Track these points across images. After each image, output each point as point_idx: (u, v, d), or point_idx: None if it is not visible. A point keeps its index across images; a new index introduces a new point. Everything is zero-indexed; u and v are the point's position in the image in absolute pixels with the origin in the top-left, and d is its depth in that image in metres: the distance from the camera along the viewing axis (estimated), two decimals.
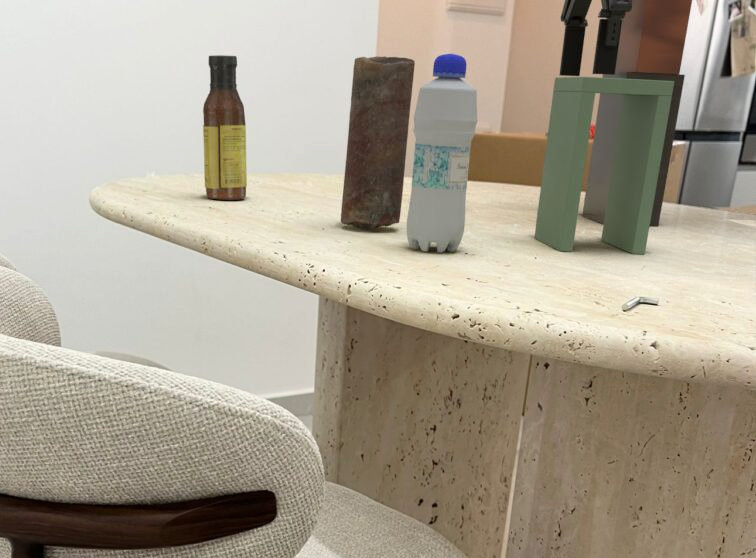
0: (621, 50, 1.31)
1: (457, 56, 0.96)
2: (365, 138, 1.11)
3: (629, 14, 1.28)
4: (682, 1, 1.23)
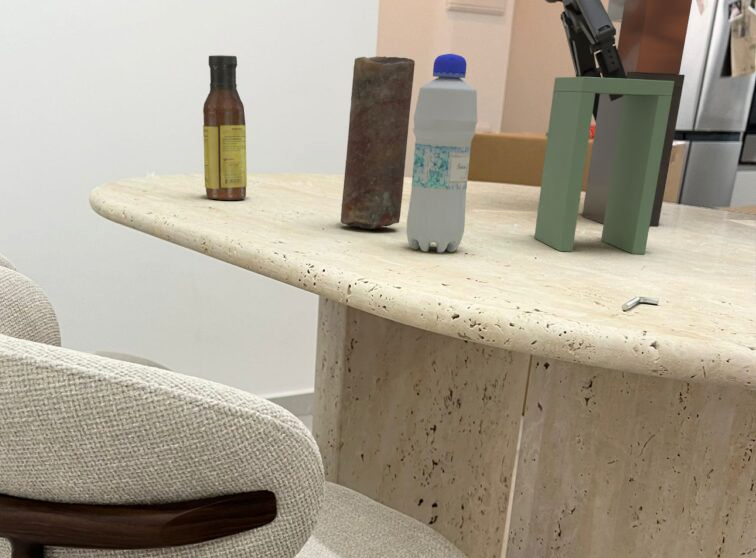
0: (621, 50, 1.31)
1: (457, 56, 0.96)
2: (365, 138, 1.11)
3: (629, 14, 1.28)
4: (682, 1, 1.23)
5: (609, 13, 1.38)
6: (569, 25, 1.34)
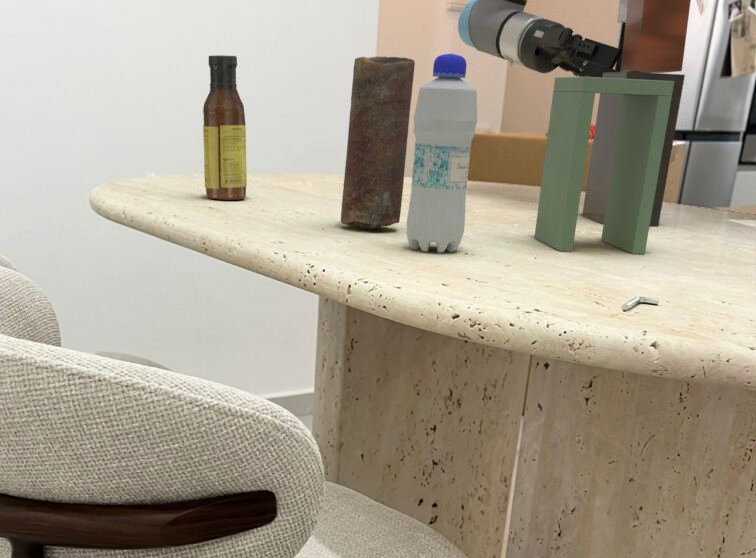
0: (625, 50, 1.31)
1: (457, 56, 0.96)
2: (365, 138, 1.11)
3: (631, 14, 1.29)
4: None
5: (619, 14, 1.39)
6: (571, 69, 1.48)
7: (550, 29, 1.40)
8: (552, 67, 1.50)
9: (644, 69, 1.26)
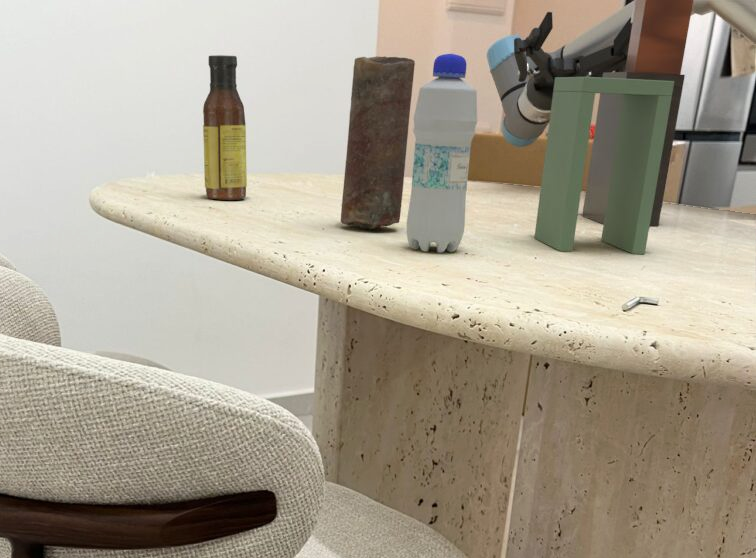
0: (629, 51, 1.32)
1: (457, 56, 0.96)
2: (365, 138, 1.11)
3: (636, 15, 1.29)
4: (682, 1, 1.23)
5: (632, 15, 1.39)
6: (571, 76, 1.63)
7: None
8: None
9: (642, 70, 1.27)
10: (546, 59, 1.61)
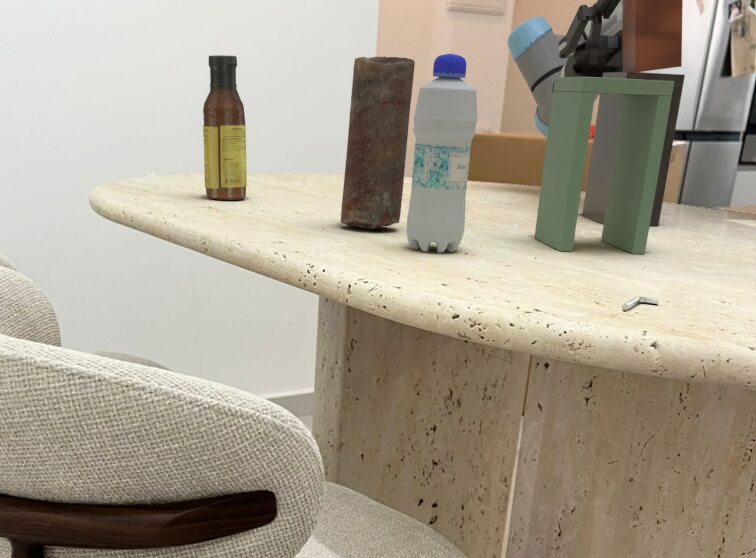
0: (624, 51, 1.32)
1: (457, 56, 0.96)
2: (365, 138, 1.11)
3: (626, 15, 1.29)
4: None
5: (618, 14, 1.39)
6: (612, 55, 1.44)
7: (569, 30, 1.42)
8: None
9: (643, 69, 1.27)
10: None
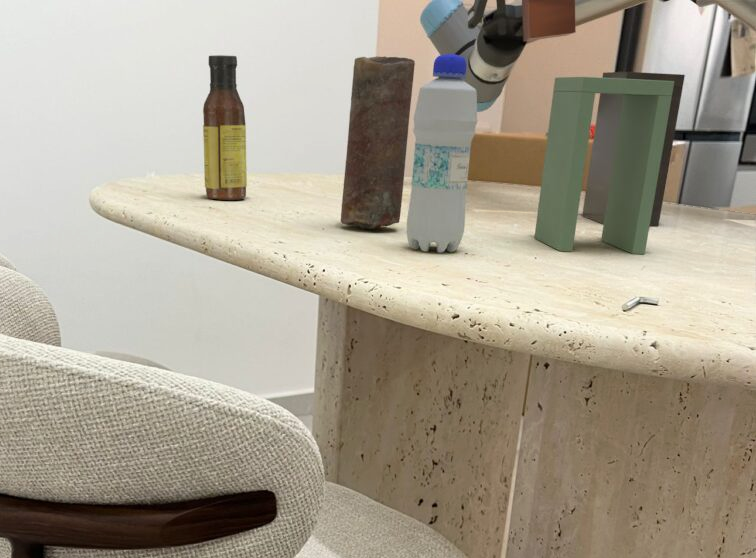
0: (523, 18, 1.32)
1: (457, 56, 0.96)
2: (365, 138, 1.11)
3: None
4: None
5: None
6: (520, 25, 1.44)
7: (475, 0, 1.42)
8: (518, 45, 1.48)
9: (537, 35, 1.27)
10: None
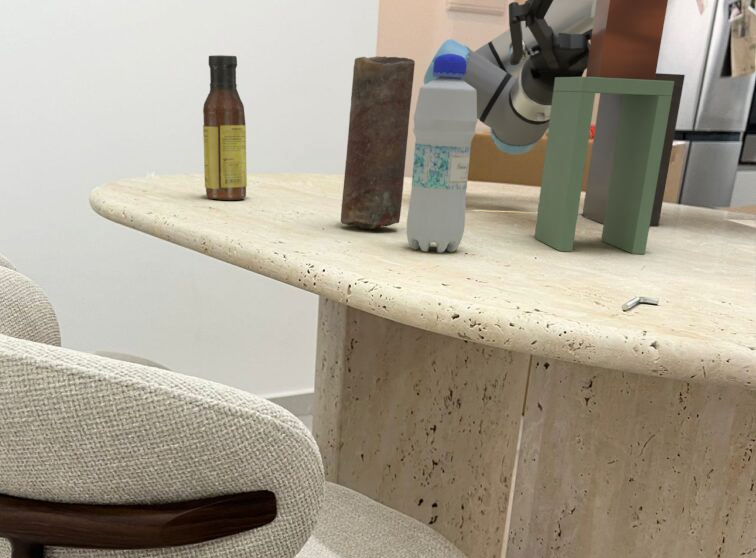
0: (591, 51, 1.08)
1: (457, 56, 0.96)
2: (365, 138, 1.11)
3: (599, 7, 1.05)
4: None
5: (593, 8, 1.15)
6: (579, 58, 1.20)
7: None
8: None
9: (608, 76, 1.03)
10: (549, 34, 1.18)
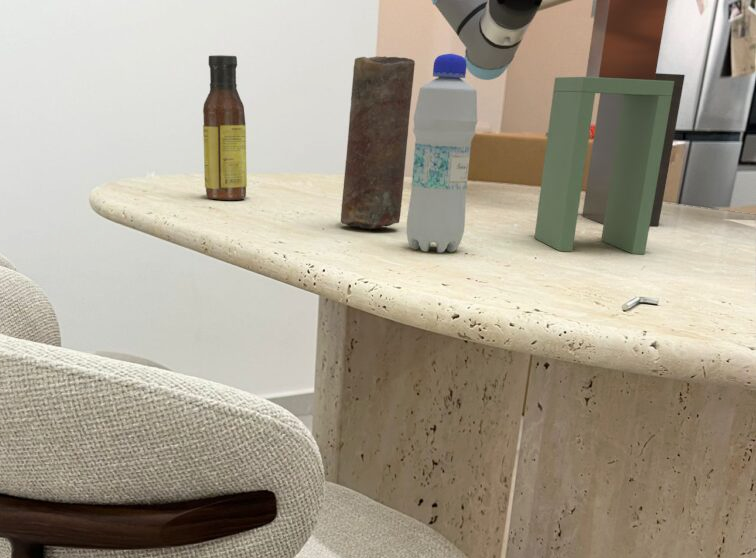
0: (591, 51, 1.08)
1: (457, 56, 0.96)
2: (365, 138, 1.11)
3: (599, 7, 1.05)
4: None
5: (593, 8, 1.15)
6: None
7: None
8: (532, 5, 1.41)
9: (608, 76, 1.03)
10: None
